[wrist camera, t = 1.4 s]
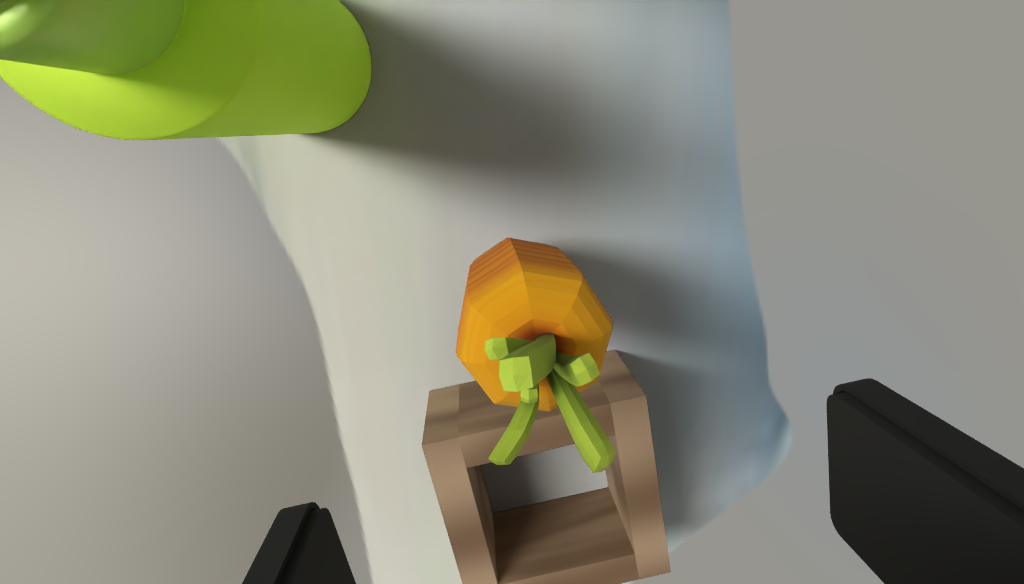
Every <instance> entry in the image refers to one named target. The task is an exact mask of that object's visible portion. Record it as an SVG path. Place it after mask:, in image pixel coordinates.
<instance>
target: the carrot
mask: <svg viewBox="0 0 1024 584" xmlns="http://www.w3.org/2000/svg"><path fill="white" fill-rule="evenodd" d="M612 326H613V322H612V320H611V318H610V316H609V315H608V313H607V312H606V310H605V309H604V307H603V306H602V304H601V302H600V301H599V299H598V298H597V296H596V295H595V293H594V292H593V290H592V289H591V287H590V286H589V284H588V282H587V281H586V279H585V278H584V276H583V275H582V273H581V272H580V270H579V269H578V268H577V267H576V266H575V265H574V264H573V263H572V261H571V260H570V259H569V258H568V257H567V256H566V255H564V254H563V253H562V252H561V251H560V250H559V249H558V248H556V247H553V246H549V245H546V244H540V243H535V242H529V241H524V240H518V239H513V238H506V239H504V240H503V241H501V242H500V243H498V244H497V245H495V246H494V247H492V248H491V249H489V250H488V251H487V252H485V253H484V254H482V255H481V256H479V257H478V258H477V259H476V260H475V261H474V262H473V263H472V264H471V265H470V269H469V274H468V279H467V285H466V290H465V296H464V301H463V307H462V312H461V318H460V323H459V329H458V337H457V346H456V354H457V357H458V358H459V359H460V361H461V362H462V363H463V365H464V366H465V367H466V368H467V370H468V371H469V372H470V373H471V375H472V376H473V377H474V379H475V380H476V381H477V382H478V384H479V385H480V386H481V388H482V389H483V390H484V391H485V393H486V394H487V395H488V397H489V398H490V399H491V400H492V402H493V403H494V404H500V405H507V406H514V407H518V408H517V410H516V412H515V414H514V416H513V418H512V420H511V422H510V424H509V426H508V428H507V429H506V431H505V432H504V434H503V435H502V437H501V438H500V440H499V441H498V443H497V444H496V446H495V448H494V449H493V451H492V453H491V454H490V456H489V458H488V459H489V460H490V461H491V462H493V463H494V464H496V465H508V464H511V463H512V461H513V460H514V459H515V457H516V456H517V455H518V453H519V452H520V450H521V448H522V447H523V445H524V443H525V442H526V440H527V438H528V436H529V433H530V430H531V428H532V425H533V423H534V420H535V417H536V413H537V410H543V411H551V410H553V409H555V408H556V407H558V406H559V409H560V411H561V413H562V415H563V418H564V420H565V422H566V425H567V427H568V429H569V431H570V434H571V436H572V438H573V440H574V442H575V444H576V446H577V448H578V450H579V451H580V453H581V455H582V457H583V459H584V461H585V462H586V463H587V465H588V466H589V468H590V469H591V470H592V472H593V473H594V472H601V471H603V470H604V469H606V468H608V466H609V465H610V464H611V463H612V462H613V460H614V457H615V454H616V452H615V450H614V448H613V446H612V444H611V443H610V441H609V439H608V437H607V436H606V434H605V433H604V431H603V430H602V428H601V427H600V425H599V424H598V422H597V421H596V419H595V417H594V416H593V414H592V413H591V411H590V410H589V408H588V406H587V405H586V403H585V402H584V400H583V399H582V397H581V395H580V394H579V393H580V392H582V391H583V390H585V389H586V388H588V387H590V386H591V385H593V384H594V383H596V382H598V380H599V376H600V372H601V368H602V365H603V361H604V357H605V354H606V350H607V346H608V342H609V339H610V335H611V331H612Z"/></svg>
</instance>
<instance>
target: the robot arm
mask: <svg viewBox="0 0 1024 584" xmlns="http://www.w3.org/2000/svg"><path fill="white" fill-rule="evenodd" d="M827 428H828V458H829V487H830V513H831V519H832V522H833V524H834V527H835V529H836V530H837V532H838V534H839V535H840V536H841V537H842V538H843V539H844V541H845V542H846V543H847V544H848V545H849V546H850V547H851V548H852V549H853V550H854V551H855V552H856V553H857V555H858V556H860V558H861V559H862V560H863V561H864V562H865V563H866V564H867V565H868V566H869V567H870V568H871V570H872V571H873V572H874V573H875V574H876V575H877V576H878V577H879V578H880V579H881V580H882V581H883V582H884V584H1024V468H1022V467H1020V466H1018V465H1017V464H1015V463H1013V462H1012V461H1010V460H1008V459H1007V458H1005V457H1003V456H1002V455H1000V454H998V453H997V452H995V451H993V450H992V449H990V448H988V447H987V446H985V445H983V444H982V443H980V442H978V441H977V440H975V439H973V438H972V437H970V436H968V435H966V434H965V433H963V432H962V431H960V430H958V429H956V428H955V427H953V426H951V425H950V424H948V423H946V422H945V421H943V420H941V419H940V418H938V417H936V416H935V415H933V414H931V413H930V412H928V411H926V410H925V409H923V408H921V407H920V406H918V405H916V404H915V403H913V402H911V401H910V400H908V399H906V398H904V397H903V396H901V395H899V394H898V393H896V392H894V391H893V390H891V389H890V388H888V387H886V386H884V385H883V384H881V383H879V382H878V381H876V380H873V379H863V380H858V381H854V382H849V383H845V384H840V385H838V386H836V387H835V389H834V392H833V395H830V396H829V397H828V399H827ZM242 584H356V583H355V580H354V577H353V575H352V572H351V569H350V566H349V564H348V561H347V558H346V555H345V552H344V550H343V547H342V544H341V542H340V539H339V536H338V533H337V530H336V528H335V525H334V522H333V519H332V517H331V514H330V512H329V510H328V509H327V508H322V509H320V508H319V506H318V505H317V504H316V503H314V502H311V503H307V504H302V505H298V506H293V507H288V508H284V509H282V510H280V511H279V513H278V515H277V517H276V518H275V520H274V522H273V524H272V526H271V528H270V530H269V532H268V534H267V536H266V538H265V540H264V542H263V544H262V546H261V548H260V550H259V551H258V553H257V555H256V557H255V559H254V561H253V563H252V566H251V567H250V569H249V571H248V573H247V575H246V577H245V579H244V581H243V583H242Z"/></svg>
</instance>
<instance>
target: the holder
mask: <svg viewBox="0 0 1024 584" xmlns="http://www.w3.org/2000/svg"><path fill="white" fill-rule="evenodd" d="M579 394H580V395H581V397H582V399H583V400H584V402H585V403H586V405H587V406H588V408H589V410H590V411H591V413H592V414H593V416H594V417H595V419H596V421H597V422H598V424H599V425H600V427H601V428H602V430H603V431H604V433H605V434H606V436H607V437H608V439H609V441H610V443H611V444H612V446H613V448H614V450H615V452H616V454H615V457H614V460H613V462H612V463H611V464H610V465H609V466H608V468H606V475H607V480H608V486H609V488H604V489H600V490H595V491H591V492H587V493H582V494H578V495H573V496H569V497H564V498H560V499H556V500H551V501H547V502H542V503H538V504H533V505H529V506H525V507H520V508H516V509H511V510H507V511H502V512H498V513H494V514H493V512H492V508H491V504H490V501H489V497H488V493H487V489H486V485H485V481H484V477H483V474H482V470H481V466H480V465H482V464H487V463H491V461H490V460H489V459H488V458H489V456H490V454H491V453H492V451H493V449H494V448H495V446H496V444H497V443H498V441H499V440H500V438H501V437H502V435H503V434H504V432H505V431H506V429H507V428H508V426H509V424H510V422H511V420H512V418H513V416H514V414H515V412H516V410H517V408H518V407H514V406H507V405H500V404H494V403H493V402H492V400H491V399H490V398H489V397H488V395H487V394H486V393H485V391H484V390H483V389H482V388H481V386H480V385H479V384H478V382H477V381H473V382H469V383H464V384H459V385H455V386H450V387H446V388H441V389H437V390H432V391H429V398H428V405H427V412H426V419H425V426H424V434H423V441H422V448H423V451H424V455H425V458H426V461H427V465H428V468H429V471H430V475H431V478H432V482H433V485H434V488H435V492H436V495H437V499H438V502H439V505H440V509H441V512H442V515H443V519H444V522H445V526H446V529H447V532H448V536H449V539H450V543H451V546H452V549H453V553H454V556H455V559H456V563H457V566H458V570H459V573H460V576H461V580H462V583H463V584H621V583H625V582H629V581H634V580H638V579H643V578H647V577H651V576H656V575H659V574H664V573H669V572H670V564H669V557H668V550H667V543H666V535H665V528H664V521H663V514H662V507H661V499H660V492H659V485H658V478H657V470H656V463H655V456H654V449H653V442H652V434H651V427H650V420H649V413H648V406H647V398H646V395H645V393H644V392H643V390H642V389H641V387H640V386H639V384H638V383H637V381H636V380H635V378H634V377H633V375H632V374H631V372H630V371H629V369H628V368H627V366H626V365H625V363H624V362H623V360H622V359H621V357H620V356H619V354H618V353H617V351H616V350H613V351H609V352H606V354H605V357H604V361H603V365H602V368H601V372H600V376H599V380H598V382H596V383H594V384H593V385H591V386H590V387H588V388H586V389H585V390H583V391H582V392H580V393H579ZM572 444H575V442H574V440H573V438H572V436H571V434H570V431H569V429H568V427H567V425H566V422H565V420H564V418H563V415H562V413H561V411H560V409H559V406H558V407H556V408H555V409H553V410H551V411H543V410H537V413H536V417H535V420H534V423H533V425H532V428H531V430H530V433H529V436H528V438H527V440H526V442H525V443H524V445H523V447H522V448H521V450H520V452H519V453H518V455H517V456H516V457H518V456H523V455H527V454H531V453H536V452H540V451H545V450H549V449H554V448H558V447H563V446H567V445H572Z"/></svg>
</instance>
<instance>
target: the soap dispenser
mask: <svg viewBox="0 0 1024 584" xmlns="http://www.w3.org/2000/svg"><path fill="white" fill-rule="evenodd" d="M371 72H372V64H371V55H370V50H369V46H368V42H367V40H366V37H365V35H364V32H363V30H362V28H361V27H360V25H359V23H358V22H357V20H356V19H355V17H354V16H353V15H352V14H351V12H350V11H349V10H348V9H347V8H346V7H345V6H344V5H343V4H342V3H341V2H340V1H339V0H0V77H1V78H2V79H3V80H4V81H5V82H6V83H7V84H8V85H10V86H11V87H12V88H13V89H14V90H15V91H16V92H18V93H19V94H20V95H21V96H22V97H24V98H25V99H26V100H28V101H29V102H30V103H32V104H33V105H34V106H36V107H37V108H39V109H41V110H42V111H44V112H45V113H47V114H49V115H50V116H52V117H54V118H56V119H58V120H60V121H62V122H64V123H66V124H69V125H71V126H73V127H76V128H78V129H81V130H84V131H86V132H90V133H93V134H97V135H101V136H106V137H110V138H116V139H125V140H157V139H181V138H205V137H230V136H255V135H279V134H304V133H319V132H324V131H328V130H331V129H333V128H335V127H338V126H339V125H341V124H343V123H344V122H346V121H347V120H348V119H349V118H351V117H352V116H353V115H354V114H355V113H356V111H357V110H358V109H359V107H360V106H361V104H362V103H363V101H364V99H365V97H366V95H367V92H368V89H369V85H370V81H371Z"/></svg>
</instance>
